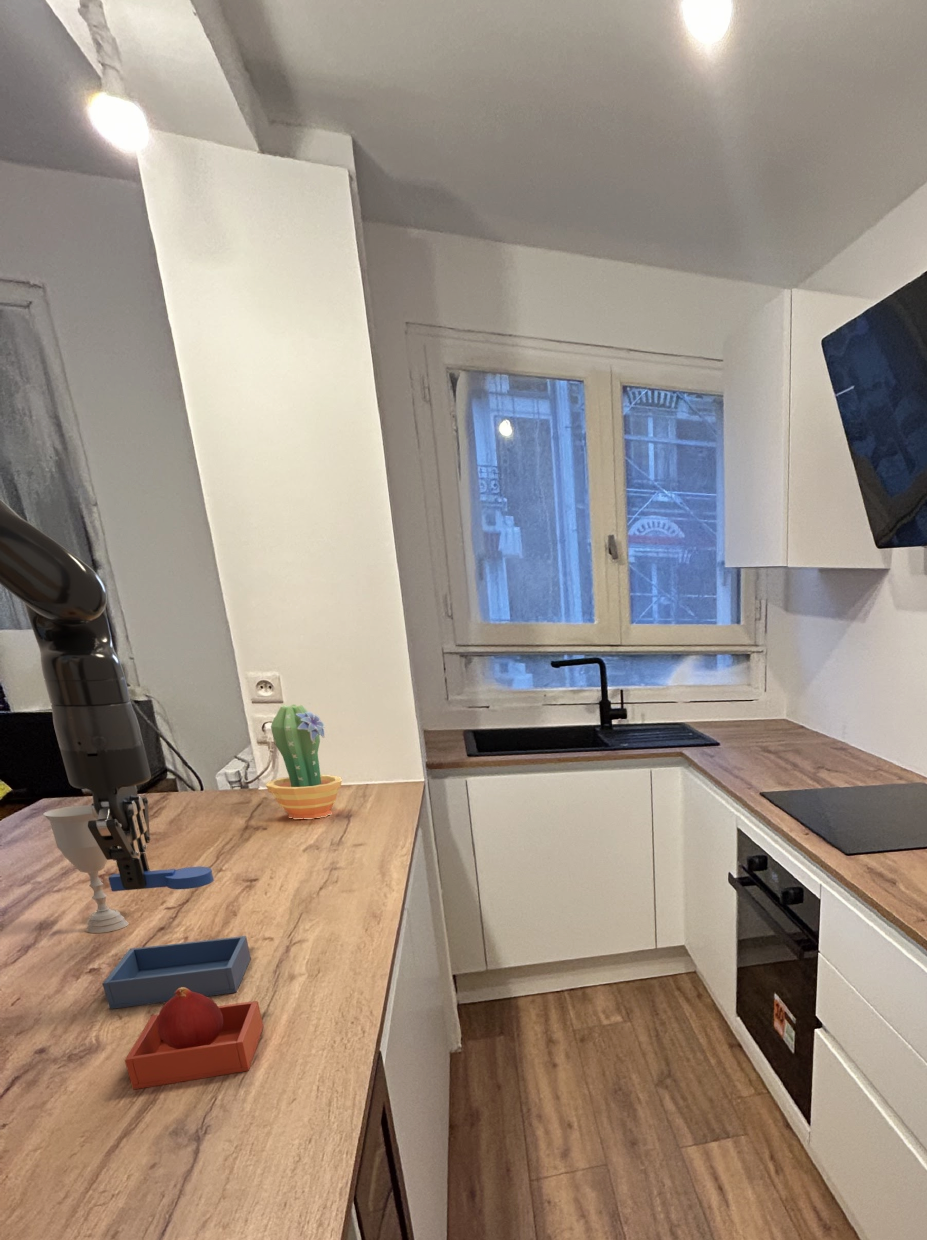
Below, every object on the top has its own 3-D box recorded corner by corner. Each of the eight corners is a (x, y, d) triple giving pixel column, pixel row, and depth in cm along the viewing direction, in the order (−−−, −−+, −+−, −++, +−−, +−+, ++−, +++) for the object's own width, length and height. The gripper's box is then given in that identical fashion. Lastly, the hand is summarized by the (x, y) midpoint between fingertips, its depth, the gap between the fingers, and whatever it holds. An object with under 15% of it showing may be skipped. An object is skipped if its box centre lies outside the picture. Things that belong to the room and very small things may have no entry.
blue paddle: (107, 896, 96) (103, 881, 95) (119, 883, 100) (116, 869, 99) (209, 887, 99) (206, 873, 99) (217, 875, 104) (214, 862, 103)
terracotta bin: (132, 1089, 83) (124, 1060, 82) (159, 1042, 92) (152, 1014, 90) (248, 1070, 87) (242, 1042, 86) (263, 1027, 96) (258, 1000, 94)
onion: (170, 1045, 90) (153, 980, 87) (231, 1035, 93) (217, 971, 90) (161, 1071, 85) (143, 1003, 83) (226, 1059, 88) (210, 992, 85)
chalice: (136, 915, 127) (107, 803, 121) (139, 928, 122) (109, 812, 116) (75, 925, 123) (42, 809, 117) (76, 939, 118) (42, 819, 112)
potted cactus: (281, 827, 177) (259, 711, 169) (264, 813, 188) (243, 703, 179) (356, 817, 187) (340, 706, 179) (336, 804, 198) (320, 700, 189)
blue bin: (109, 1009, 99) (102, 983, 97) (136, 972, 108) (129, 948, 107) (236, 992, 104) (230, 967, 102) (251, 958, 113) (246, 935, 112)
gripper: (82, 735, 97) (118, 872, 103) (36, 754, 85) (79, 908, 91) (157, 733, 100) (188, 866, 106) (123, 751, 88) (160, 900, 94)
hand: (138, 885), depth 99 cm, fingers closed on blue paddle, 1 cm apart
